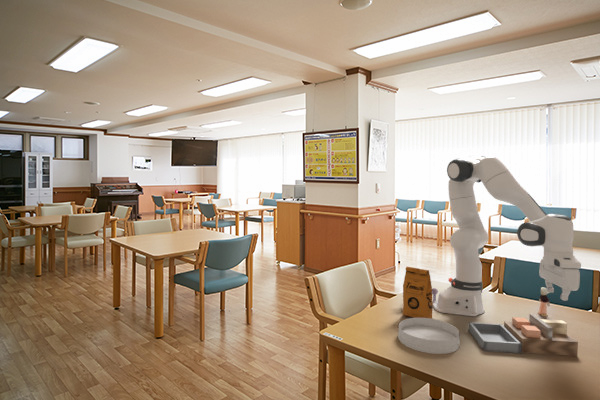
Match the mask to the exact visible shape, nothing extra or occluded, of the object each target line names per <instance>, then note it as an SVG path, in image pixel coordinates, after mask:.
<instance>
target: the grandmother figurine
mask: <svg viewBox="0 0 600 400" xmlns="http://www.w3.org/2000/svg"><path fill="white" fill-rule="evenodd" d="M548 294H550V293H549V292H548V291H547V287H544V286H543V287H540V295H539V299H538V302H540V303H539V309H538V312H537V314H538V315H540V316H542V317H548V314H547V312H548V309H547V307H550V305H551V304H550V300H549V298H548V296H547V295H548Z"/></svg>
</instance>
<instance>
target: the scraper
mask: <svg viewBox="0 0 600 400" xmlns="http://www.w3.org/2000/svg"><path fill="white" fill-rule="evenodd" d="M528 321H529V322H530V325H531V326H535V327H537V328H538V329H539V330H540V331H541V334H542V335H543V336H545V337H546V338H547V339H552V333H553V334H568V332H567V331H568V323H567V322H566V321H564V320H562V319H561V320H558V319H543V318H539V316H537V315H536V314H535V313H529V319H528Z"/></svg>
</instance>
